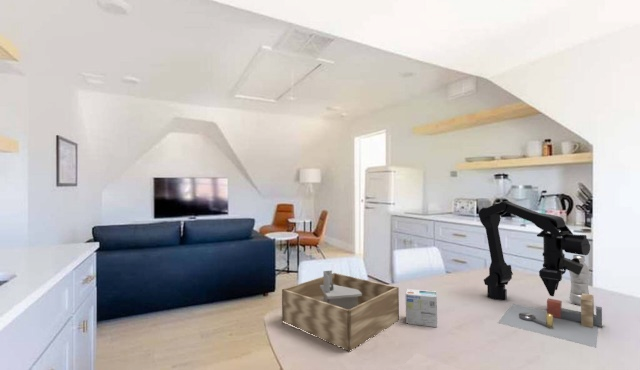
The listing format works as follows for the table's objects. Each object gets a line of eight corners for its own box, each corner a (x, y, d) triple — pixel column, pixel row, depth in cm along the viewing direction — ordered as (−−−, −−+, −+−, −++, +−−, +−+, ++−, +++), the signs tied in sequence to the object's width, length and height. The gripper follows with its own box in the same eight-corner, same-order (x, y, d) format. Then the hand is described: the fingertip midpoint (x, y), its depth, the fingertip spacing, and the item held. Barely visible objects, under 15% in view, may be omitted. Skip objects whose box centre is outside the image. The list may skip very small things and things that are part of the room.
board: (497, 325, 110) (497, 322, 110) (513, 305, 128) (513, 303, 128) (596, 350, 92) (596, 347, 92) (598, 323, 110) (598, 321, 110)
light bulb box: (437, 320, 115) (436, 290, 115) (437, 328, 108) (437, 296, 108) (406, 316, 118) (406, 287, 118) (405, 324, 112) (405, 293, 112)
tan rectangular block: (581, 325, 107) (580, 299, 107) (582, 318, 113) (582, 293, 113) (593, 328, 105) (592, 301, 105) (593, 320, 111) (593, 295, 111)
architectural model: (316, 343, 99) (315, 286, 100) (303, 314, 123) (303, 267, 123) (383, 335, 104) (382, 280, 104) (359, 308, 128) (358, 264, 128)
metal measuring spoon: (547, 329, 104) (547, 316, 104) (515, 316, 115) (515, 304, 115) (557, 327, 106) (557, 314, 106) (525, 314, 116) (525, 302, 117)
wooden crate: (282, 322, 114) (281, 289, 114) (334, 300, 135) (334, 272, 136) (349, 351, 93) (349, 311, 93) (398, 320, 115) (398, 287, 115)
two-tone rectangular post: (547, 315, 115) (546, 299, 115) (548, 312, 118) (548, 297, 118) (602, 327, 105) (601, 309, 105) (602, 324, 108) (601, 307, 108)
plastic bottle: (594, 308, 123) (593, 258, 124) (575, 307, 125) (574, 257, 125) (584, 303, 130) (583, 254, 130) (565, 302, 131) (564, 254, 131)
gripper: (579, 257, 103) (580, 305, 103) (583, 249, 117) (583, 291, 117) (538, 253, 111) (539, 297, 111) (546, 245, 124) (547, 285, 124)
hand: (553, 292), depth 115 cm, fingers open, 9 cm apart
